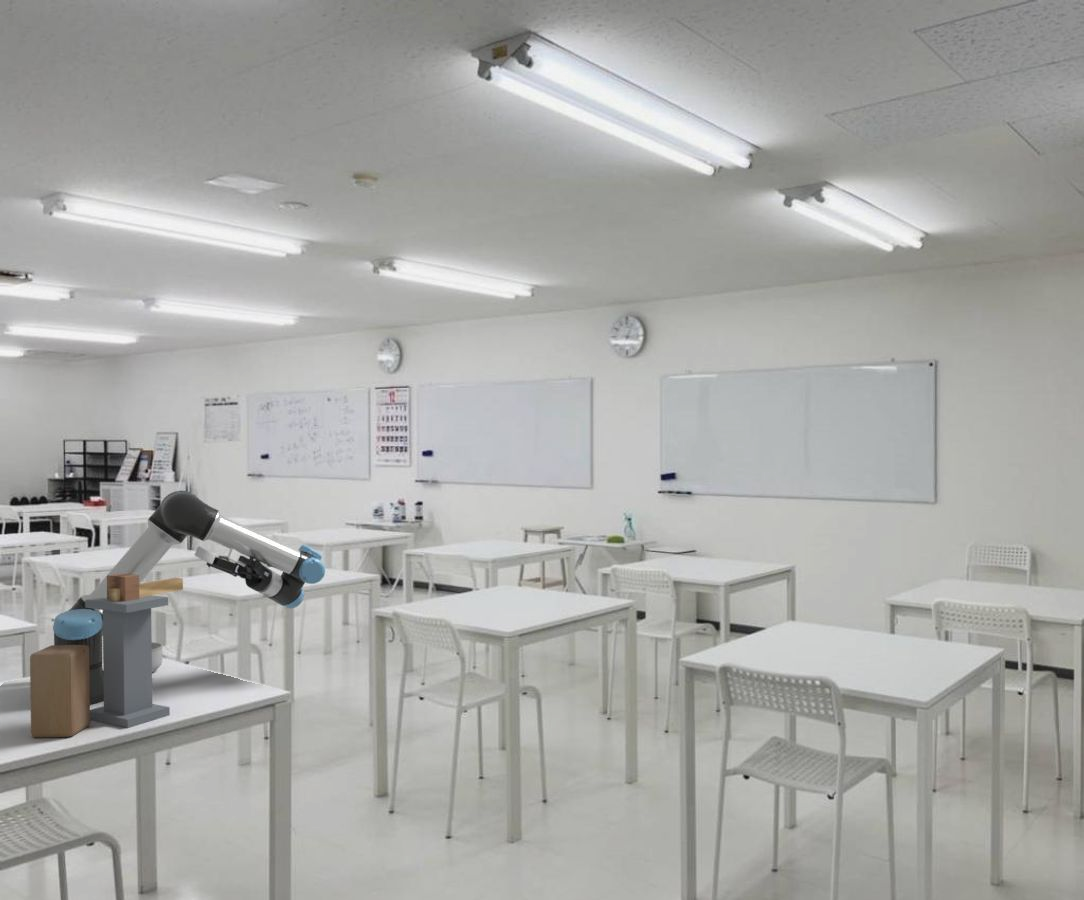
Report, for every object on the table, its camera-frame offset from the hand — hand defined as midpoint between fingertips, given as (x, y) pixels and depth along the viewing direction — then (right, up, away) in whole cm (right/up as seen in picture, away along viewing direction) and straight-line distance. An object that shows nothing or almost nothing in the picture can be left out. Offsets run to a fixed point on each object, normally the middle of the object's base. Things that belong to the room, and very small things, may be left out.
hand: (213, 551), depth 261 cm
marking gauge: (-9, -9, -23) cm, 26 cm away
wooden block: (-22, -39, -40) cm, 60 cm away
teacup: (-29, -39, +19) cm, 52 cm away
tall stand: (-12, -39, -28) cm, 49 cm away
